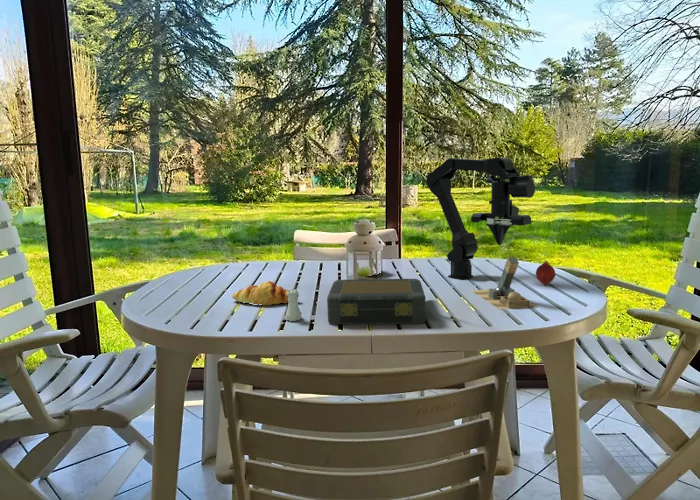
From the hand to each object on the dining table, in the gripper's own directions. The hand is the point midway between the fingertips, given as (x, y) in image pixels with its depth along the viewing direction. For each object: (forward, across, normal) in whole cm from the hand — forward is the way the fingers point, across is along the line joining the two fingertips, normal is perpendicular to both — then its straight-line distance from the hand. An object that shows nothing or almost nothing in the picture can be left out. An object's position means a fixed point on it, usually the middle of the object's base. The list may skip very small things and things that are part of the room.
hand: (499, 245), depth 158 cm
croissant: (+13, +41, +65) cm, 78 cm away
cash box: (+14, +8, +50) cm, 52 cm away
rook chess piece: (+13, +20, +69) cm, 73 cm away
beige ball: (+12, -19, +24) cm, 32 cm away
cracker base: (+13, -13, +20) cm, 27 cm away
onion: (+13, -12, -8) cm, 20 cm away
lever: (+12, -13, +19) cm, 26 cm away
